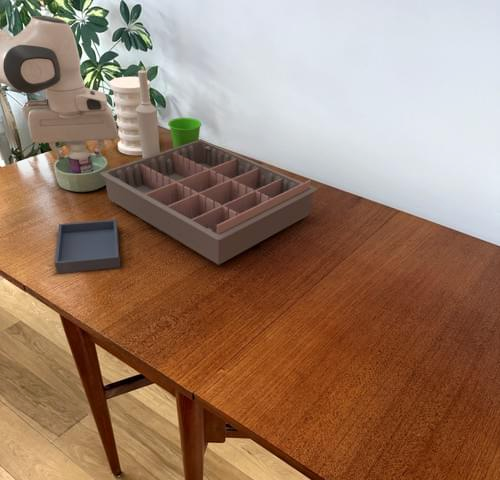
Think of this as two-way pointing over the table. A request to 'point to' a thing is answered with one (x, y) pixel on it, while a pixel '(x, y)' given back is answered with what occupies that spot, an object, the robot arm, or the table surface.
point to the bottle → (147, 120)
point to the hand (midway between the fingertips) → (80, 157)
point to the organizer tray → (209, 198)
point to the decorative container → (127, 113)
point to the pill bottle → (79, 158)
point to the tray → (87, 246)
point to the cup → (184, 130)
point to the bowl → (81, 175)
